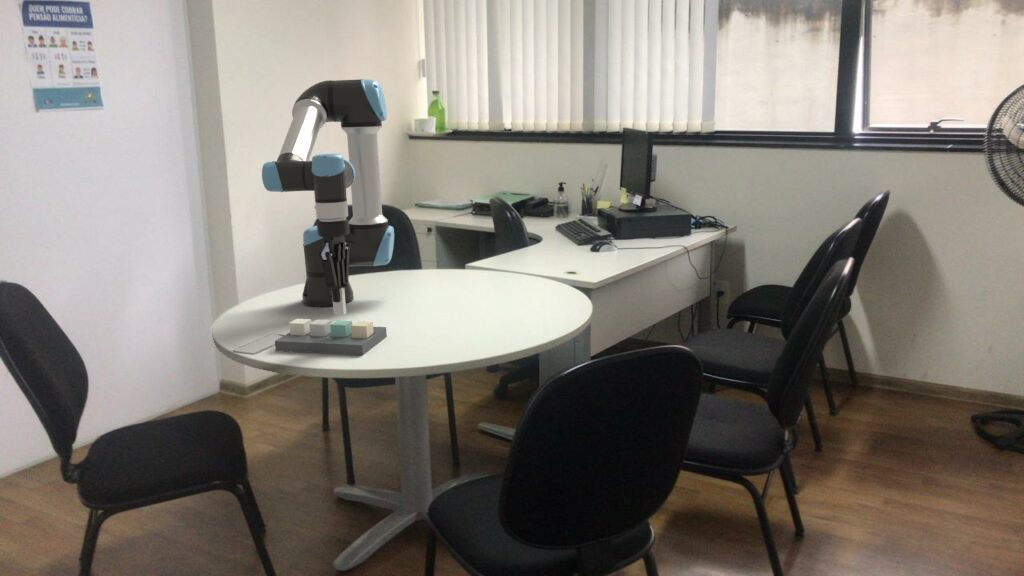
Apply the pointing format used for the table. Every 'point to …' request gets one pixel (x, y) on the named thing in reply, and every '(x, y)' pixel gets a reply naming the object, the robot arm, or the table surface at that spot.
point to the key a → (299, 327)
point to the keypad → (330, 343)
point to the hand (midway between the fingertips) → (340, 313)
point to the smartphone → (259, 344)
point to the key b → (320, 328)
